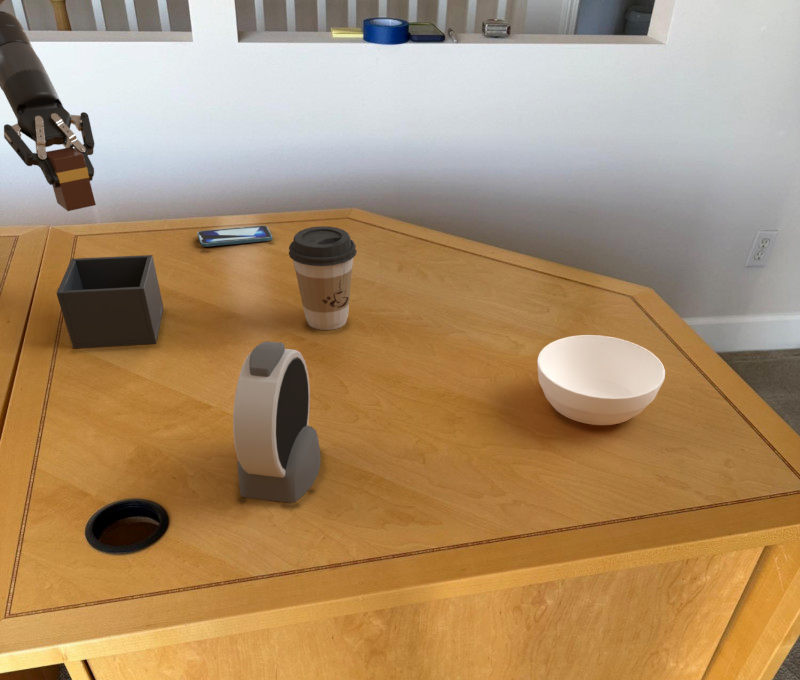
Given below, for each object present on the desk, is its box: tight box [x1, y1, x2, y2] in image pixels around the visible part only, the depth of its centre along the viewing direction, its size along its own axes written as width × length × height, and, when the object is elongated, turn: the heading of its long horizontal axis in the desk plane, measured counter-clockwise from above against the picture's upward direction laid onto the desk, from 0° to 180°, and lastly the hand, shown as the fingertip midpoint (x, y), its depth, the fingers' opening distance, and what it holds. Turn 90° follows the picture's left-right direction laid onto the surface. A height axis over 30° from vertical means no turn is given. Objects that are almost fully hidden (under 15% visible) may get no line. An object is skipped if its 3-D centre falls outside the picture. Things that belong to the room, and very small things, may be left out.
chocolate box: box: [46, 147, 97, 212], centre depth 127 cm, size 5×5×8 cm
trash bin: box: [55, 254, 164, 350], centre depth 132 cm, size 14×14×10 cm
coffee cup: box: [288, 225, 358, 331], centre depth 132 cm, size 11×11×15 cm
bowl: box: [536, 334, 666, 426], centre depth 114 cm, size 18×18×7 cm
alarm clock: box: [232, 340, 322, 504], centre depth 98 cm, size 16×10×18 cm, turn 170°
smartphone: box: [197, 225, 273, 247], centre depth 164 cm, size 7×1×15 cm
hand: (74, 181), depth 125 cm, fingers closed on chocolate box, 5 cm apart
